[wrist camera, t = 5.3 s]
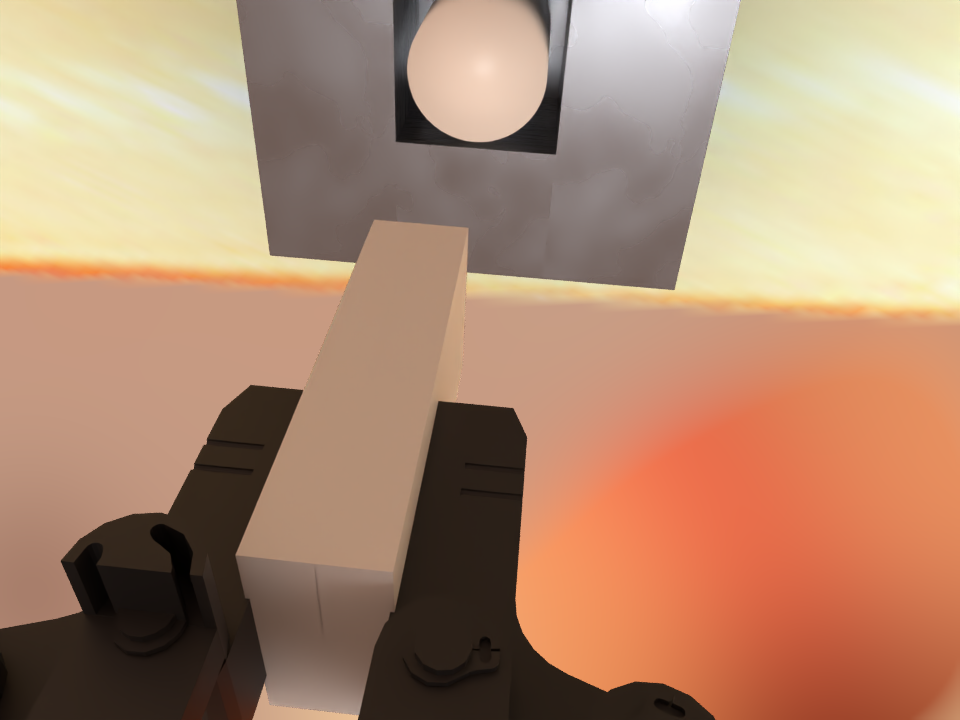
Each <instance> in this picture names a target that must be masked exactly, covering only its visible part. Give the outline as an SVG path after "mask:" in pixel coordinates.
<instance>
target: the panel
mask: <svg viewBox="0 0 960 720" xmlns="http://www.w3.org/2000/svg"><path fill="white" fill-rule="evenodd" d="M236 1H237V8H238V16H239V24H240V31H241V39H242V46H243V54H244V62H245V69H246V77H247V84H248V92H249V99H250V107H251V115H252V122H253V130H254V137H255V145H256V152H257V160H258V168H259V175H260V183H261V190H262V198H263V205H264V213H265V221H266V228H267V236H268V243H269V251H270V255H272V256H284V257H295V258H307V259H319V260H330V261H342V262H354V263H356V262H357V260H358V257H359V255H360V253H361V250H362V248H363V245H364V243H365V240H366V238H367V236H368V233H369V231H370V228H371V226H372V224H373V221H374V220H384V221H396V222H407V223H419V224H430V225H442V226H454V227H465V228H469V229H468V254H467V272H470V273H482V274H494V275H505V276H517V277H529V278H540V279H552V280H564V281H575V282H587V283H599V284H610V285H622V286H634V287H645V288H657V289H668V290H674V289H675V285H676V281H677V276H678V272H679V268H680V263H681V259H682V254H683V250H684V246H685V241H686V237H687V233H688V228H689V224H690V219H691V215H692V211H693V206H694V202H695V198H696V193H697V189H698V185H699V180H700V176H701V171H702V167H703V163H704V158H705V154H706V150H707V145H708V141H709V137H710V132H711V128H712V123H713V119H714V115H715V110H716V106H717V102H718V97H719V93H720V89H721V84H722V80H723V75H724V71H725V67H726V62H727V58H728V54H729V49H730V45H731V41H732V36H733V32H734V27H735V23H736V19H737V14H738V10H739V6H740V1H741V0H547V3H548V6H549V11H550V18H551V31H550V45H549V60H548V74H547V84H546V90H545V93H544V96H543V99H542V101H541V104H540V106H539V108H538V109H537V111H536V112H535V114H534V115H533V116H532V118H531V119H530V120H529V121H528V122H527V123H526V124H525V125H524V126H523V127H522V128H520V129H519V130H517V131H516V132H514V133H513V134H511V135H509V136H507V137H504V138H501V139H498V140H494V141H488V142H471V141H464V140H461V139H457V138H455V137H452V136H450V135H448V134H446V133H444V132H442V131H441V130H439V129H438V128H437V127H435V126H434V125H433V124H432V123H431V122H430V121H428V120H427V118H426V117H425V116H424V115H423V114H422V112H421V111H420V109H419V108H418V106H417V105H416V103H415V101H414V98H413V96H412V93H411V90H410V87H409V82H408V75H407V63H408V56H409V51H410V48H411V45H412V42H413V40H414V38H415V36H416V34H417V32H418V30H419V28H420V26H421V24H422V22H423V20H424V18H425V16H426V14H427V13H428V11H429V9H430V7H431V5H432V3H433V1H434V0H236Z"/></svg>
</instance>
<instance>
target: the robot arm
mask: <svg viewBox="0 0 960 720" xmlns="http://www.w3.org/2000/svg"><path fill="white" fill-rule="evenodd" d="M468 229H469V228H465V227H454V226H442V225H430V224H419V223H407V222H396V221H384V220H374V221H373V224H372V226H371V228H370V231H369V233H368V236H367V238H366V240H365V243H364V245H363V248H362V250H361V253H360V255H359V257H358V260H357V262H356V265H355V267H354V270H353V272H352V274H351V277H350V279H349V282H348V284H347V286H346V289H345V291H344V294H343V296H342V299H341V301H340V304H339V306H338V309H337V311H336V313H335V316H334V318H333V320H332V323H331V325H330V328H329V330H328V333H327V335H326V338H325V340H324V342H323V345H322V347H321V350H320V352H319V354H318V357H317V359H316V362H315V364H314V366H313V369H312V371H311V374H310V376H309V379H308V381H307V384H306V386H305V388H304V390H297V389H286V388H276V387H265V386H255V385H250V386H249V387H248V388H247V389H246V390H245V391H243V392H242V393H241V394H240V395H239V396H237V397H236V398H235V399H234V400H233V401H232V402H231V403H230V404H228V405H227V406H226V407H224V408H223V409H222V411H221V413H220V415H219V417H218V419H217V421H216V423H215V424H214V426H213V428H212V430H211V432H210V434H209V436H208V438H207V444H206V445H204V446H203V448H202V449H201V451H200V453H199V455H198V457H197V459H196V461H195V463H194V469H193V470H191V471H190V473H189V474H188V476H187V478H186V480H185V482H184V484H183V486H182V488H181V490H180V492H179V494H178V496H177V498H176V499H175V501H174V503H173V505H172V507H171V509H170V511H169V513H168V515H167V514H163V513H145V514H132V515H129V516H126V517H123V518H119V519H116V520H113V521H110V522H107V523H104V524H103V525H101V526H100V527H98V528H97V529H95V530H93V531H92V532H90V533H89V534H87V535H86V536H84V537H83V538H81V539H80V540H78V542H77V543H76V544H75V545H74V546H73V548H72V549H71V550H70V551H69V552H68V553H67V554H66V555H65V557H64V558H63V559H62V560H61V563H62V565H63V567H64V570H65V572H66V574H67V576H68V579H69V581H70V583H71V585H72V588H73V590H74V592H75V594H76V597H77V599H78V601H79V603H80V606H81V608H82V610H83V611H82V612H80V613H76V614H72V615H69V616H65V617H61V618H58V619H53V620H47V621H42V622H36V623H31V624H26V625H19V626H14V627H9V628H3V629H0V720H252V719H253V716H254V713H255V710H256V707H257V704H258V701H259V697H260V695H261V691H262V689H263V685H264V683H265V686H266V691H267V695H268V699H269V704H270V705H275V706H285V707H292V708H301V709H310V710H318V711H327V712H335V713H344V714H352V715H359V717H358V720H715V718H714V717H713V715H711V714H710V713H709V712H708V711H707V710H706V709H705V708H704V707H702V706H701V705H700V704H699V703H698V702H697V701H696V700H695V699H693V698H692V697H691V696H689V695H688V694H685V693H683V692H681V691H678V690H676V689H674V688H672V687H669V686H667V685H665V684H660V683H647V682H633V683H630V684H626V685H623V686H620V687H617V688H614V689H611V690H610V691H609V692H606V691H604V690H601V689H599V688H597V687H595V686H592V685H590V684H588V683H586V682H584V681H581V680H579V679H577V678H575V677H573V676H570V675H568V674H566V673H564V672H563V671H561V670H559V669H558V668H556V667H554V666H552V665H551V664H549V663H548V662H547V661H546V660H545V659H544V658H543V657H542V656H540V655H539V654H538V653H537V652H536V651H535V650H534V649H533V648H532V646H531V645H530V643H529V642H528V640H527V639H526V637H525V636H524V634H523V633H522V630H521V627H520V624H519V621H518V619H517V615H516V602H515V596H516V582H517V569H518V555H519V541H520V527H521V513H522V497H523V486H524V471H525V459H526V445H527V436H526V434H525V432H524V430H523V427H522V425H521V423H520V421H519V419H518V417H517V415H516V413H515V411H514V409H513V408H506V407H505V408H504V407H495V406H484V405H474V404H464V403H456V400H457V394H458V389H459V383H460V378H461V372H462V366H463V354H464V329H465V303H466V302H465V301H466V279H467V254H468Z"/></svg>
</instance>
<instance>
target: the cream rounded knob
mask: <svg viewBox="0 0 960 720" xmlns="http://www.w3.org/2000/svg"><path fill="white" fill-rule="evenodd" d="M550 31H551V18H550V11H549V6H548V3H547V0H434V1H433V3H432V5H431V7H430V9H429V11H428V13H427V14H426V16H425V18H424V20H423V22H422V24H421V26H420V28H419V30H418V32H417V34H416V36H415V38H414V40H413V42H412V45H411V48H410V51H409V56H408V63H407V75H408V82H409V87H410V90H411V93H412V96H413V98H414V101H415V103H416V105H417V106H418V108H419V109H420V111H421V112H422V114H423V115H424V116H425V117H426V118H427V120H428V121H430V122H431V123H432V124H433V125H434V126H435V127H437V128H438V129H439V130H441V131H442V132H444V133H446V134H448V135H450V136H452V137H455V138H457V139H461V140H464V141H471V142H488V141H494V140H498V139H501V138H504V137H507V136H509V135H511V134H513V133H514V132H516V131H517V130H519V129H520V128H522V127H523V126H524V125H525V124H526V123H527V122H528V121H529V120H530V119H531V118H532V116H533V115H534V114H535V112H536V111H537V109H538V108H539V106H540V104H541V101H542V99H543V96H544V93H545V90H546V84H547V74H548V60H549V45H550Z"/></svg>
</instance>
